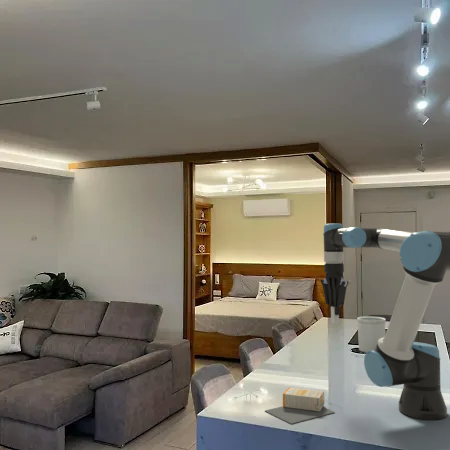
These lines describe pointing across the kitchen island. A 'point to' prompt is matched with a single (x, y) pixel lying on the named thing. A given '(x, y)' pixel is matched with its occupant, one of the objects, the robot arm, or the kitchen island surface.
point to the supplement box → (303, 399)
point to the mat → (297, 414)
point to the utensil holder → (370, 332)
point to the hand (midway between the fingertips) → (334, 323)
